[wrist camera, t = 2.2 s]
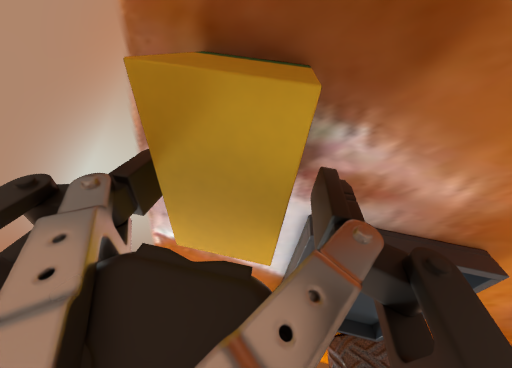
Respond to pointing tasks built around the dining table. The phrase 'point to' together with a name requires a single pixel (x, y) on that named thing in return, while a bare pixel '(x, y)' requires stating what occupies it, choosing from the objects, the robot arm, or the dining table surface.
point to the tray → (466, 259)
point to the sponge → (225, 144)
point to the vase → (357, 353)
